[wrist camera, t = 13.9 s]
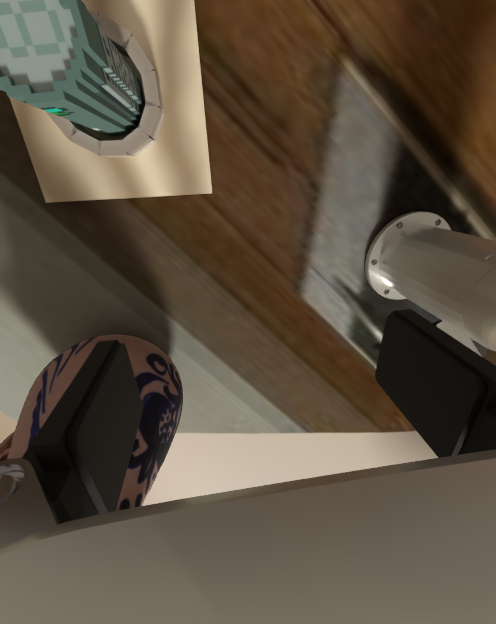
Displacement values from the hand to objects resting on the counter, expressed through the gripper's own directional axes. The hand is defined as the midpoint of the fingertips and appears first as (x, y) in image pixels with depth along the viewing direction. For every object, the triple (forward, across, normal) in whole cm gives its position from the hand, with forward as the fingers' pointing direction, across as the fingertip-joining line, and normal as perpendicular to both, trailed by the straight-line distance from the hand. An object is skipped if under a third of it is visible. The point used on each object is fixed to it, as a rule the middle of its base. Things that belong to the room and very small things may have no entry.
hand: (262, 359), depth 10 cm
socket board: (+28, +10, -13) cm, 33 cm away
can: (+27, +10, -13) cm, 31 cm away
